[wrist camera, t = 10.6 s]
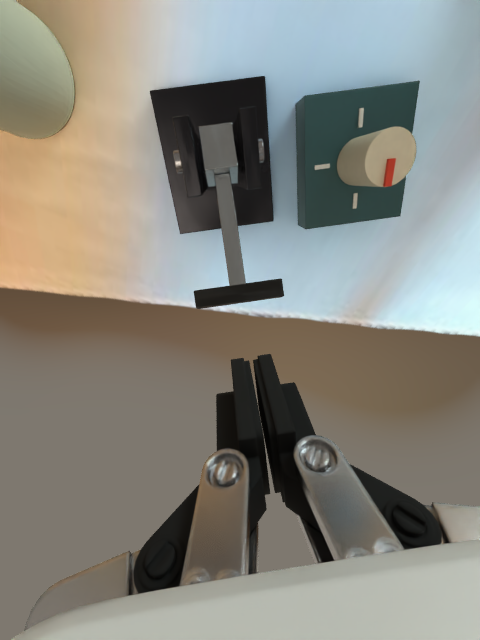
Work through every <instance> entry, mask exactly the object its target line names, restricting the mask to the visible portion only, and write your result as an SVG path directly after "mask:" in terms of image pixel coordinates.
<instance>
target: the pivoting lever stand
mask: <svg viewBox="0 0 480 640" xmlns="http://www.w3.org/2000/svg"><path fill="white" fill-rule="evenodd" d="M150 94H151V99H152V104H153V109H154V113H155V118H156V123H157V127H158V132H159V137H160V141H161V146H162V151H163V155H164V160H165V165H166V169H167V174H168V179H169V183H170V188H171V193H172V197H173V202H174V207H175V211H176V216H177V221H178V225H179V230H180V234H184V233H191V232H198V231H205V230H213V229H220V228H221V221H220V214H219V207H218V200H217V193H216V186H211V187H208V184H207V179H206V175H205V170H204V163H203V156H202V149H201V142H200V135H199V128H198V127H199V126H207V125H214V124H222V123H230V122H232V124H233V131H234V139H235V146H236V153H237V160H238V183H234V184H232V190H233V197H234V204H235V211H236V218H237V225H238V226H242V225H249V224H256V223H263V222H271V221H273V204H272V187H271V170H270V154H269V137H268V120H267V103H266V86H265V76H260V77H253V78H245V79H237V80H230V81H222V82H214V83H206V84H199V85H191V86H183V87H176V88H168V89H160V90H152V91H150Z"/></svg>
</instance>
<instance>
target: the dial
mask: <svg viewBox="0 0 480 640" xmlns="http://www.w3.org/2000/svg"><path fill="white" fill-rule="evenodd" d="M415 157H416V143H415V139H414V137H413V135H412V134H411V133H410V132H409V131H408V130H407V129H405V128H403V127H390V128H387V129H383V130H380V131H377V132H373V133H370V134H366V135H363V136H360V137H356V138H354V139H352V140H350V141H349V142H348V143H347V144H346V145H345V146H344V147H343V148H342V150H341V152H340V154H339V156H338V160H337V171H338V175H339V177H340V178H341V180H342V181H343V182H344V183H346V184H348V185H352V186H371V187H389V186H392V185H394V184H396V183H398V182H400V181H401V180H402V179H403V178H404V177H405V176H406V175H407V174H408V172H409V171H410V169H411V168H412V166H413V163H414V160H415Z"/></svg>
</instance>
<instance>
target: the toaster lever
mask: <svg viewBox="0 0 480 640" xmlns="http://www.w3.org/2000/svg"><path fill="white" fill-rule="evenodd" d="M198 128H199V135H200V142H201V149H202V156H203V163H204V170H205V175H206V179H207V184H208V187H211V186H216V193H217V200H218V207H219V214H220V221H221V228H222V235H223V242H224V249H225V256H226V263H227V270H228V277H229V284H230V286H224V287H217V288H210V289H203V290H196V291H194V296H195V303H196V308H197V309H201V308H208V307H215V306H222V305H229V304H236V303H244V302H251V301H258V300H265V299H272V298H279V297H283V296H284V291H283V284H282V279H274V280H267V281H260V282H253V283H246V282H245V274H244V267H243V260H242V253H241V246H240V239H239V232H238V225H237V218H236V211H235V204H234V197H233V190H232V184H234V183H238V160H237V153H236V146H235V139H234V131H233V124H232V122H230V123H222V124H214V125H207V126H199V127H198Z"/></svg>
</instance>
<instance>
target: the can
mask: <svg viewBox="0 0 480 640" xmlns="http://www.w3.org/2000/svg"><path fill="white" fill-rule="evenodd" d="M74 98H75V88H74V80H73V75H72V71H71V68H70V65H69V62H68V59H67V57H66V55H65V53H64V51H63V49H62V47H61V45H60V44H59V42H58V40H57V39H56V37H55V36H54V35H53V33H52V32H51V31H50V30H49V28H48V27H47V26H46V25H45V24H44V23H43V22H42V21H41V20H40V19H39V18H38V17H37V16H36V15H35V14H33V13H32V12H31V11H29V10H28V9H26V8H25V7H23V6H22V5H20V4H19V3H18V2H17V1H16V0H0V130H2V131H6V132H9V133H11V134H14V135H16V136H19V137H23V138H28V139H42V138H46V137H49V136H52V135H54V134H56V133H57V132H59V131H60V130H61V129H62V128H63V127H64V126H65V124H66V123H67V121H68V120H69V118H70V116H71V113H72V110H73V105H74Z"/></svg>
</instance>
